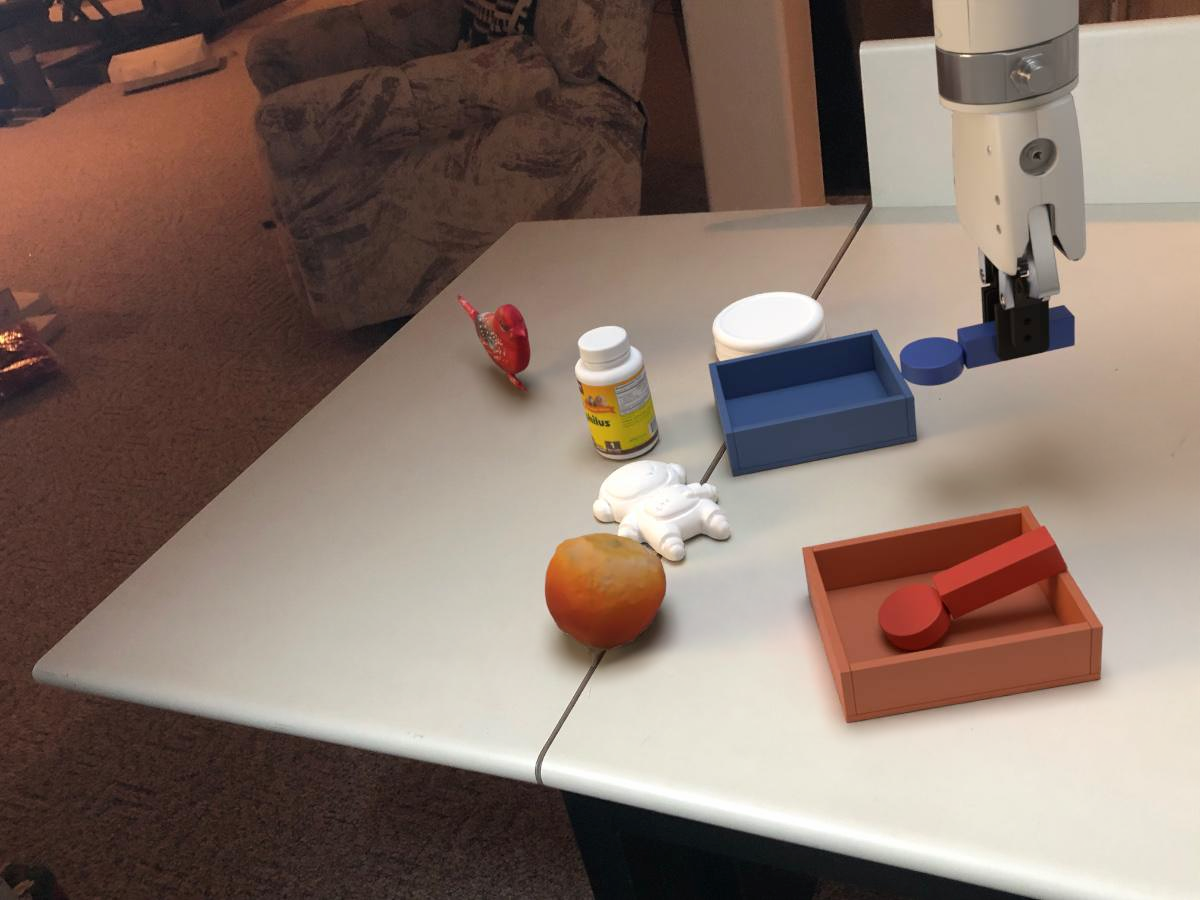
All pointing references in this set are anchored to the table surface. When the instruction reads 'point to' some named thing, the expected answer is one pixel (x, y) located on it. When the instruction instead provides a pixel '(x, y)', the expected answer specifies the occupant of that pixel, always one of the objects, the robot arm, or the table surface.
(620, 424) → the supplement bottle
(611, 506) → the astronaut figurine
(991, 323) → the blue spoon
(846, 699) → the terracotta tray
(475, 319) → the decorative bird figurine
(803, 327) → the white round container
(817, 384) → the blue tray
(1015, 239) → the robot arm
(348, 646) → the table surface
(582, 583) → the fruit
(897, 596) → the red spoon
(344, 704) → the table surface
